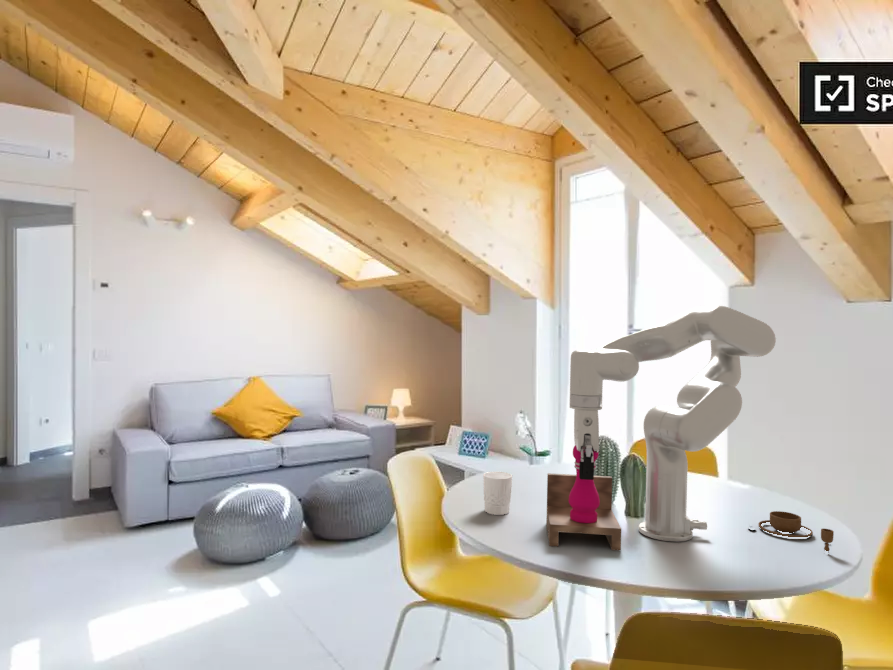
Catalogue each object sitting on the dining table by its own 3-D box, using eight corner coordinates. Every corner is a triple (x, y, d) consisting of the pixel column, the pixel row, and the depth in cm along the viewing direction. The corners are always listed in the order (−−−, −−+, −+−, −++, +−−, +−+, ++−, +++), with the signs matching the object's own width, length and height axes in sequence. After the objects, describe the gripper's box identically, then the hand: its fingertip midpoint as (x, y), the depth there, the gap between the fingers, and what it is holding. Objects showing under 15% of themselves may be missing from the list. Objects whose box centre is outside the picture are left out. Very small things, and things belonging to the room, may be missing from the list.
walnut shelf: (610, 527, 151) (611, 476, 150) (620, 550, 135) (622, 493, 135) (546, 523, 152) (547, 473, 152) (549, 545, 137) (550, 489, 137)
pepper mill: (599, 516, 143) (602, 434, 143) (598, 525, 136) (601, 438, 136) (569, 513, 145) (571, 431, 145) (566, 522, 138) (569, 436, 138)
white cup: (510, 517, 157) (510, 479, 157) (480, 514, 159) (481, 477, 159) (512, 508, 165) (513, 472, 165) (484, 506, 167) (485, 470, 167)
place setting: (822, 532, 152) (822, 509, 152) (837, 559, 133) (838, 533, 133) (745, 522, 159) (746, 500, 159) (750, 546, 140) (751, 521, 140)
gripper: (607, 407, 131) (605, 484, 131) (597, 398, 148) (595, 466, 149) (572, 406, 132) (571, 482, 132) (566, 397, 149) (565, 465, 150)
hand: (584, 474), depth 140 cm, fingers open, 9 cm apart
